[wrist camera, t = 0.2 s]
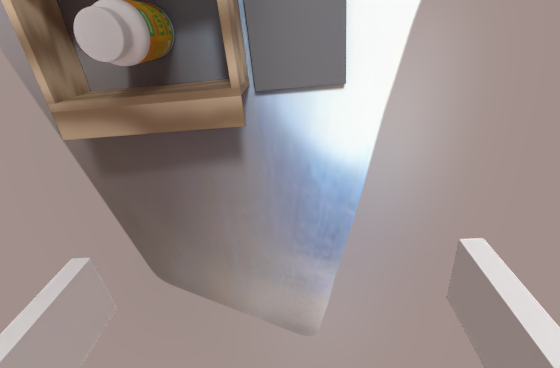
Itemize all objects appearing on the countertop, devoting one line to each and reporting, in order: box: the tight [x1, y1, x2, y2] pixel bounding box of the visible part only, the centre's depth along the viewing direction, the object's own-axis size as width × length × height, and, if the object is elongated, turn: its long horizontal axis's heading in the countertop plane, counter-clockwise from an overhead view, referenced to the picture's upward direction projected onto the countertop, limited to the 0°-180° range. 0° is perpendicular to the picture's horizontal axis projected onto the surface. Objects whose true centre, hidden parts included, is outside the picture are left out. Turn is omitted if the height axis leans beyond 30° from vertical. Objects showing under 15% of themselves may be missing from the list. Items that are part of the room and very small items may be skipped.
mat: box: [244, 0, 346, 91], centre depth 32 cm, size 10×10×1 cm
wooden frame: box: [1, 0, 249, 140], centre depth 30 cm, size 19×20×6 cm
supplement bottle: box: [74, 0, 174, 66], centre depth 28 cm, size 5×5×10 cm
